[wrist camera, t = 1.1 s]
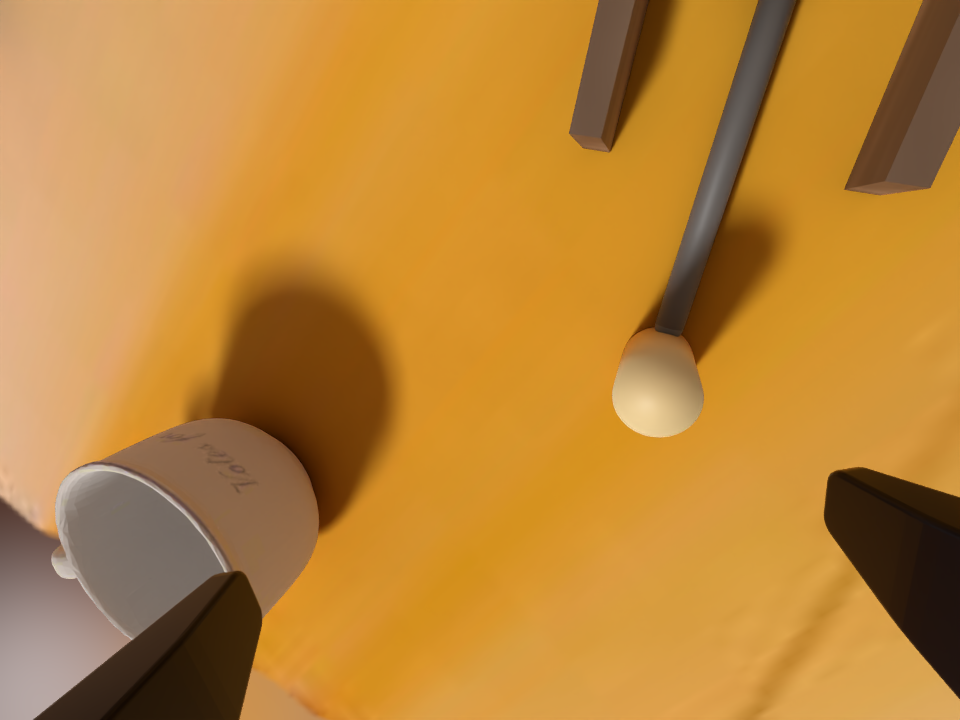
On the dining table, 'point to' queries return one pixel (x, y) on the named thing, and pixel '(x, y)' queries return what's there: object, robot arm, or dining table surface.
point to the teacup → (185, 519)
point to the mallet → (697, 251)
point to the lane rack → (893, 133)
